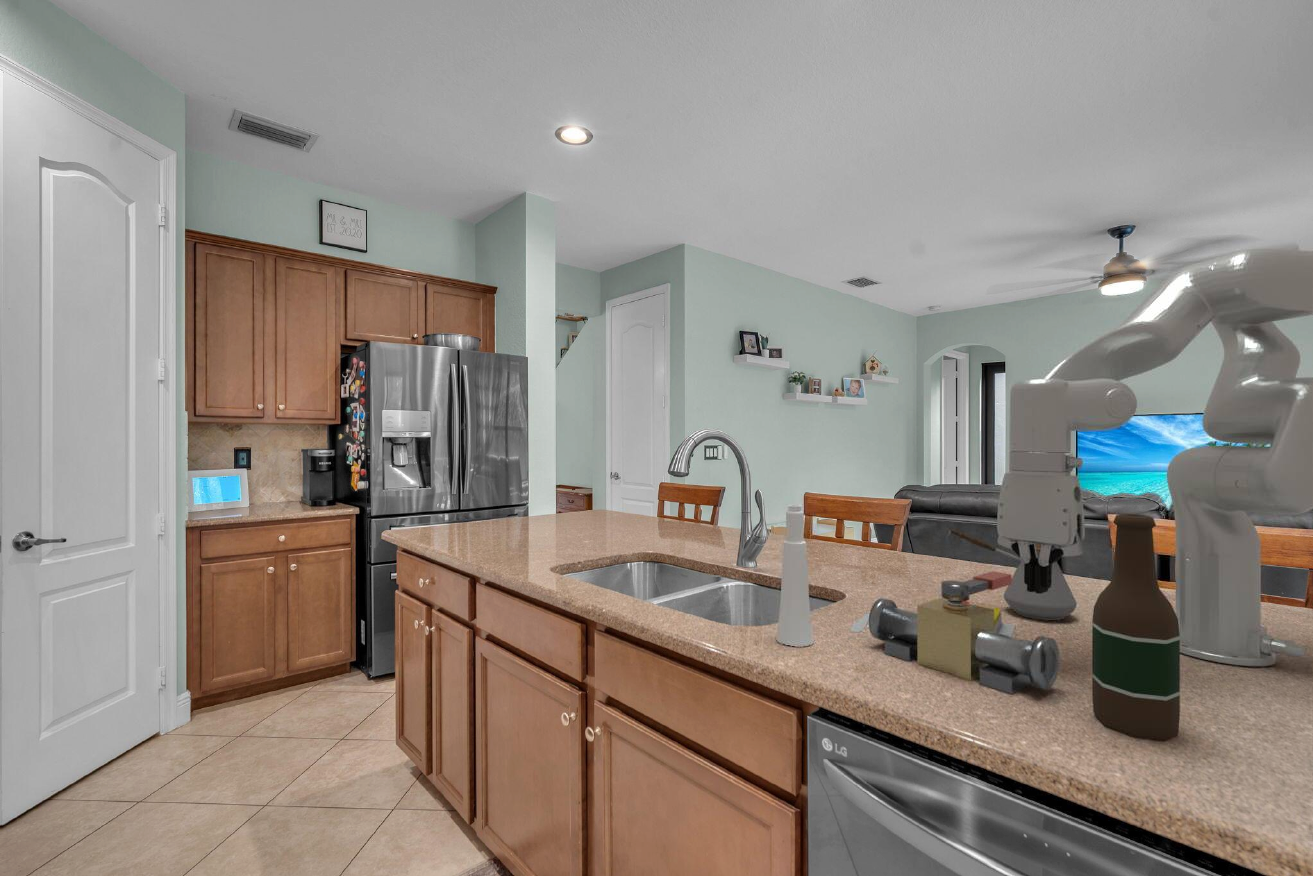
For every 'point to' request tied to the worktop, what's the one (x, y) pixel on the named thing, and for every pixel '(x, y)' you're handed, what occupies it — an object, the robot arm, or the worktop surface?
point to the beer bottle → (1136, 641)
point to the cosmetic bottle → (794, 585)
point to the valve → (964, 644)
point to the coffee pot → (1030, 603)
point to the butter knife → (860, 624)
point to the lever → (974, 585)
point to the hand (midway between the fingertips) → (1037, 591)
